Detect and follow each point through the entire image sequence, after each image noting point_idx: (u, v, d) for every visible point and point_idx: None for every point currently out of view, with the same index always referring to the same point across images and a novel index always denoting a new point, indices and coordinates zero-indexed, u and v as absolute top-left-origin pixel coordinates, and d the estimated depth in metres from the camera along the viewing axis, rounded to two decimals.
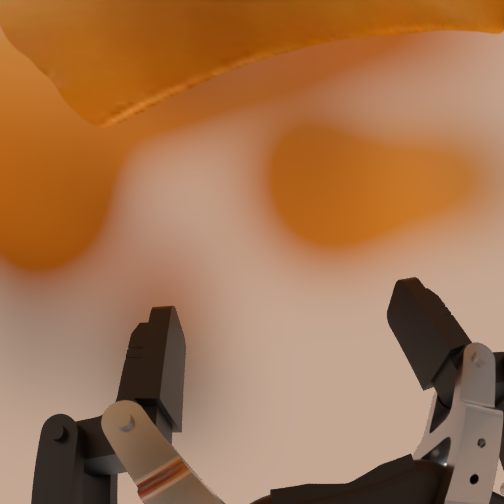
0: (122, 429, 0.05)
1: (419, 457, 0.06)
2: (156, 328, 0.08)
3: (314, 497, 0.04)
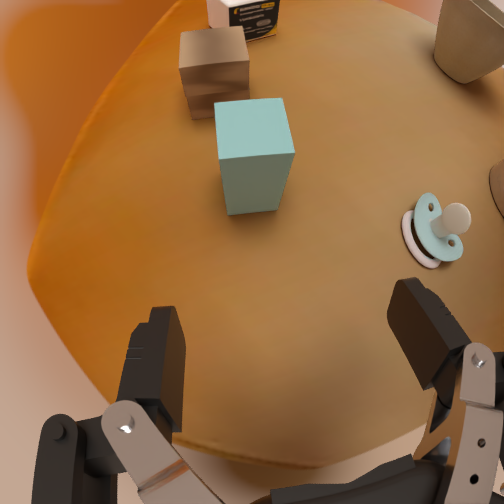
0: (122, 429, 0.05)
1: (419, 457, 0.06)
2: (156, 328, 0.08)
3: (314, 497, 0.04)
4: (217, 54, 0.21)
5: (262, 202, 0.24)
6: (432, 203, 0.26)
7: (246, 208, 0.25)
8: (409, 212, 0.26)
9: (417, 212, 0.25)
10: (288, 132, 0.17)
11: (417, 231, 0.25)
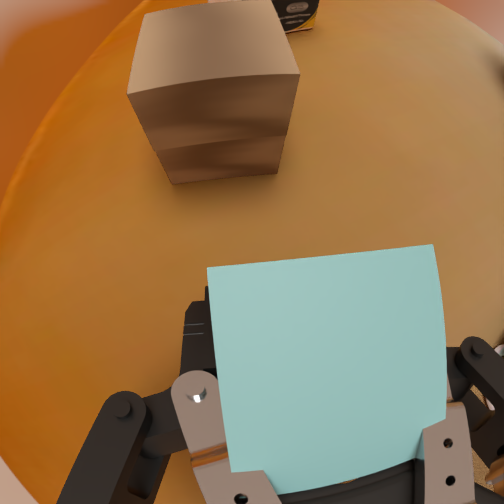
0: (196, 398, 0.06)
1: None
2: None
3: (314, 497, 0.04)
4: (221, 55, 0.09)
5: None
6: None
7: None
8: (498, 350, 0.14)
9: None
10: (442, 385, 0.05)
11: None
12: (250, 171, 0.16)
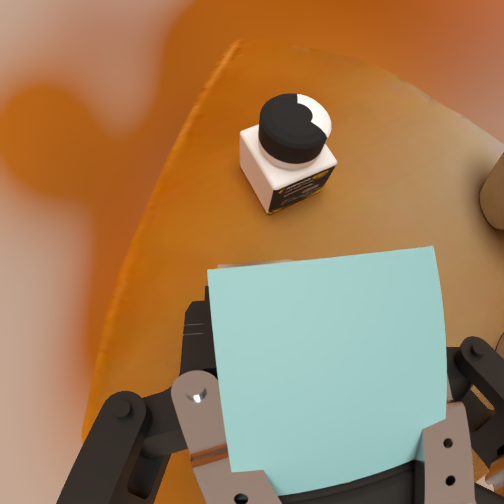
0: (196, 398, 0.06)
1: None
2: None
3: (314, 497, 0.04)
4: None
5: None
6: None
7: None
8: None
9: None
10: (442, 387, 0.05)
11: None
12: None
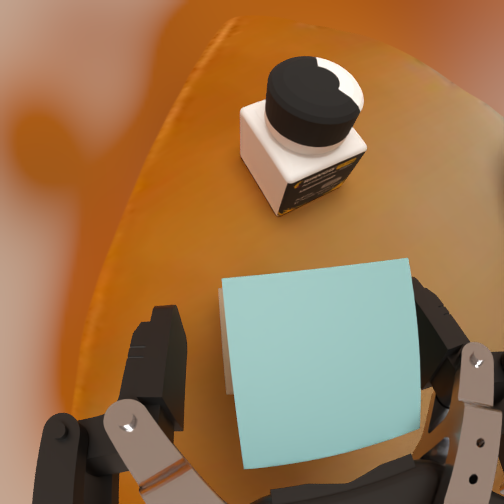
0: (124, 428, 0.05)
1: (418, 457, 0.06)
2: (158, 327, 0.08)
3: (314, 497, 0.04)
4: None
5: None
6: None
7: None
8: None
9: None
10: (416, 376, 0.06)
11: None
12: None
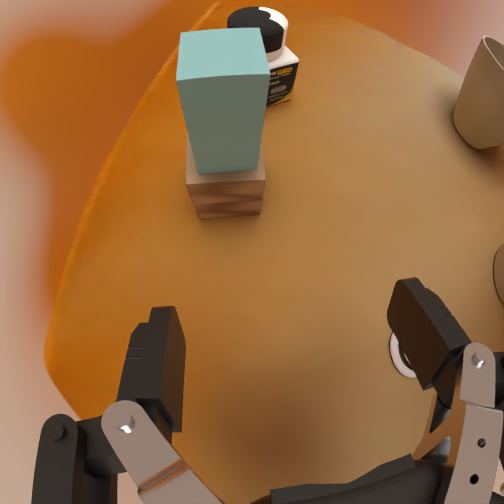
0: (122, 429, 0.05)
1: (419, 457, 0.06)
2: (156, 328, 0.08)
3: (314, 497, 0.04)
4: None
5: (237, 155, 0.20)
6: None
7: (219, 164, 0.21)
8: None
9: None
10: (264, 56, 0.13)
11: None
12: (244, 213, 0.29)
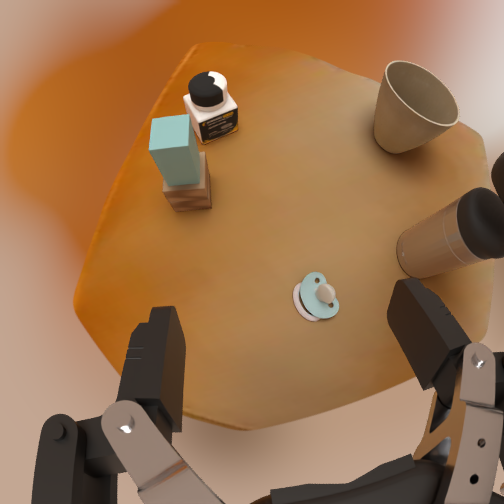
0: (122, 429, 0.05)
1: (419, 457, 0.06)
2: (156, 328, 0.08)
3: (314, 497, 0.04)
4: None
5: (186, 177, 0.38)
6: (318, 277, 0.44)
7: (178, 181, 0.39)
8: (300, 284, 0.45)
9: (303, 285, 0.44)
10: (187, 134, 0.30)
11: (302, 298, 0.43)
12: (201, 207, 0.47)
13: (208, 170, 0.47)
